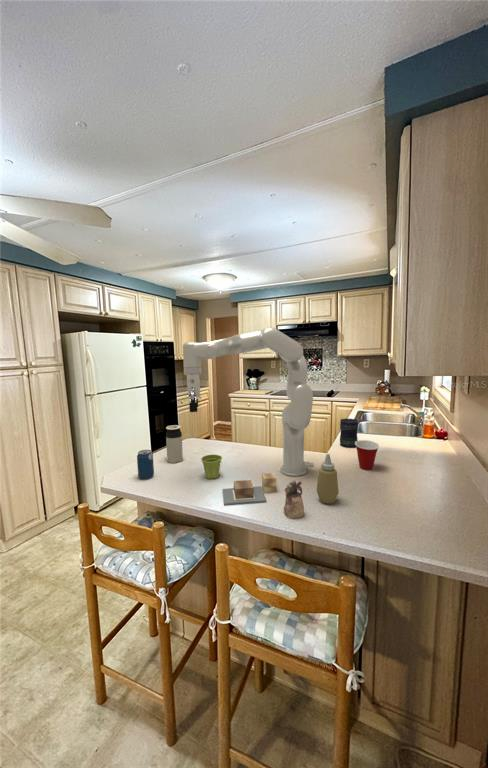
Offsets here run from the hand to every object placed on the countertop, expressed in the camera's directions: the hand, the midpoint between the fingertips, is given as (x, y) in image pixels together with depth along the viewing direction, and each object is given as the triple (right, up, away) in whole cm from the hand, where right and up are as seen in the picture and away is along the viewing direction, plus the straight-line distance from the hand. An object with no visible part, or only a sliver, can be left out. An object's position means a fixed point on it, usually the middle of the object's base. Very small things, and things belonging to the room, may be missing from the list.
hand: (194, 409), depth 136 cm
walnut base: (+22, -32, -15) cm, 41 cm away
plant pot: (+8, -31, +5) cm, 32 cm away
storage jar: (+83, -25, +44) cm, 97 cm away
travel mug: (-14, -29, +25) cm, 41 cm away
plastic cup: (+80, -29, +11) cm, 86 cm away
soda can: (-23, -32, +5) cm, 39 cm away
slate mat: (+22, -33, -15) cm, 42 cm away
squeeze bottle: (+54, -33, -19) cm, 66 cm away
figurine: (+39, -34, -28) cm, 59 cm away
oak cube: (+32, -32, -10) cm, 47 cm away
